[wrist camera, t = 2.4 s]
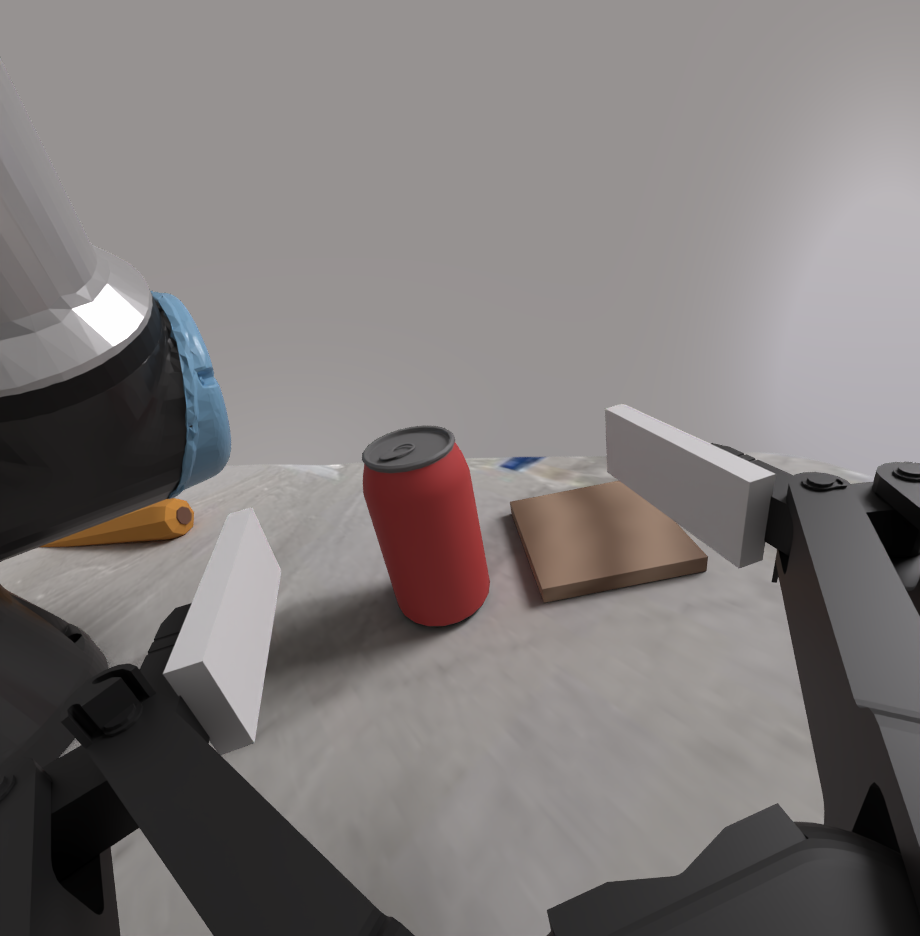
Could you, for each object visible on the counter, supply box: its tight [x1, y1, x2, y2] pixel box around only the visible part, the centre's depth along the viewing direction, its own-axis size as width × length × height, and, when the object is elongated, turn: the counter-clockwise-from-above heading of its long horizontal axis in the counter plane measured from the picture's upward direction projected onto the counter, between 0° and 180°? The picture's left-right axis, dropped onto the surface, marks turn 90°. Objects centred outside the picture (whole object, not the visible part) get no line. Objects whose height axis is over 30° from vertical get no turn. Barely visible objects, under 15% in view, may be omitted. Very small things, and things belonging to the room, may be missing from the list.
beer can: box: [362, 426, 490, 626], centre depth 29 cm, size 7×7×12 cm
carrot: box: [40, 498, 194, 547], centre depth 48 cm, size 20×4×4 cm, turn 86°
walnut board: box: [510, 481, 708, 603], centre depth 34 cm, size 11×11×1 cm
